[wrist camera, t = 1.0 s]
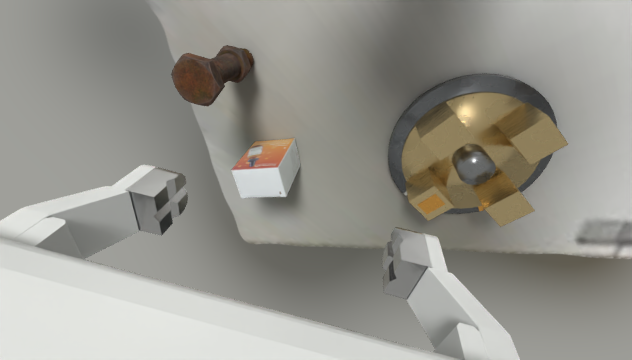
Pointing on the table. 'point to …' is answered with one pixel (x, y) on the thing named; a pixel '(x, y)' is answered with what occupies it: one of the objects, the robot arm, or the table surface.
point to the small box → (267, 169)
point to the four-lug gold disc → (476, 155)
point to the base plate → (452, 90)
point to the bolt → (210, 73)
